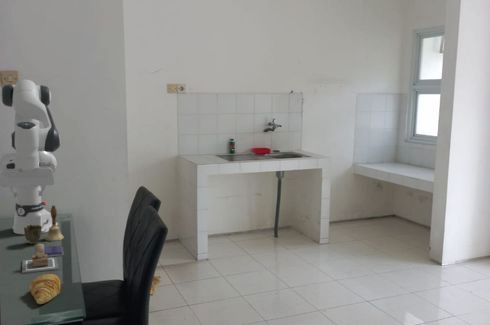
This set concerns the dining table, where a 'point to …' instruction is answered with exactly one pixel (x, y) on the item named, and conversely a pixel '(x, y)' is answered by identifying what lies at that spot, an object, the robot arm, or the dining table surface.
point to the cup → (33, 233)
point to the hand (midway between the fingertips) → (27, 196)
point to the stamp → (40, 256)
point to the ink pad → (53, 251)
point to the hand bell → (54, 228)
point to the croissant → (45, 287)
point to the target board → (28, 267)
